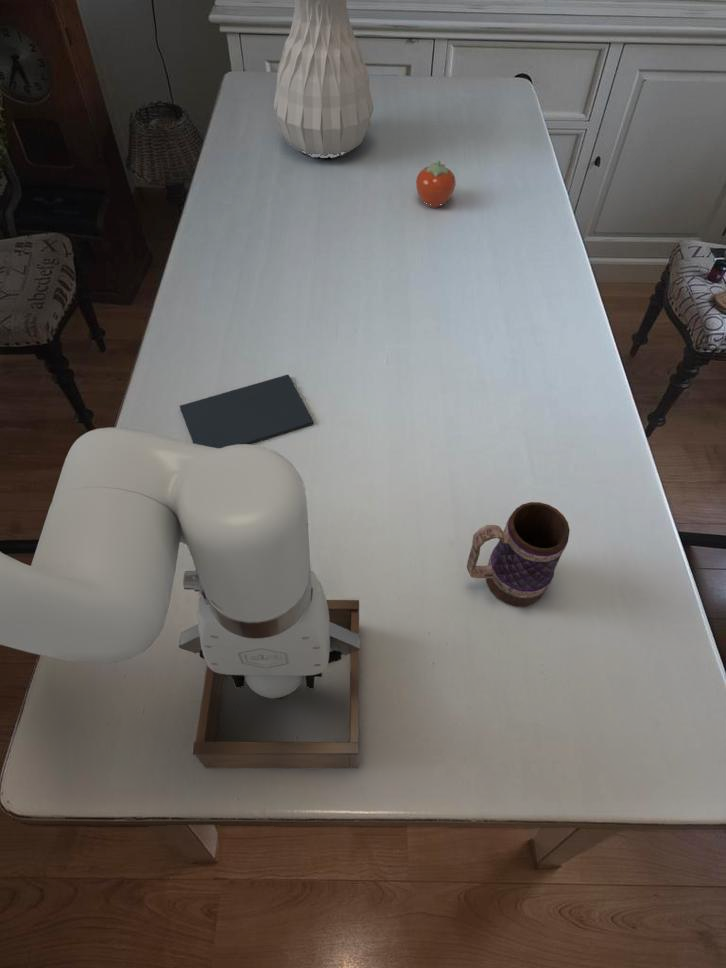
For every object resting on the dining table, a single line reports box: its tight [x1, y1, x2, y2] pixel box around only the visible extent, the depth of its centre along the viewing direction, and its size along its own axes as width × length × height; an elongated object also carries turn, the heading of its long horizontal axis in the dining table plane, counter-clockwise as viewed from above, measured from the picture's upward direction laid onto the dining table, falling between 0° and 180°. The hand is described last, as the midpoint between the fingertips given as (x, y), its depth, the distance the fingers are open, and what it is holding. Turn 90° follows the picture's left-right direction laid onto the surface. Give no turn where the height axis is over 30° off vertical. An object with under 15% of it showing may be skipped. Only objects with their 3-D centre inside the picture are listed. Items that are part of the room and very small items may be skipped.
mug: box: [466, 501, 571, 607], centre depth 68 cm, size 10×7×12 cm
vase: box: [273, 0, 374, 158], centre depth 120 cm, size 20×20×30 cm
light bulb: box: [244, 675, 305, 701], centre depth 60 cm, size 6×6×10 cm
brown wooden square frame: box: [191, 599, 360, 769], centre depth 62 cm, size 15×15×6 cm
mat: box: [179, 374, 315, 448], centre depth 86 cm, size 16×10×1 cm, turn 114°
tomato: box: [415, 159, 457, 209], centre depth 117 cm, size 7×7×8 cm
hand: (276, 672), depth 60 cm, fingers closed on light bulb, 6 cm apart
